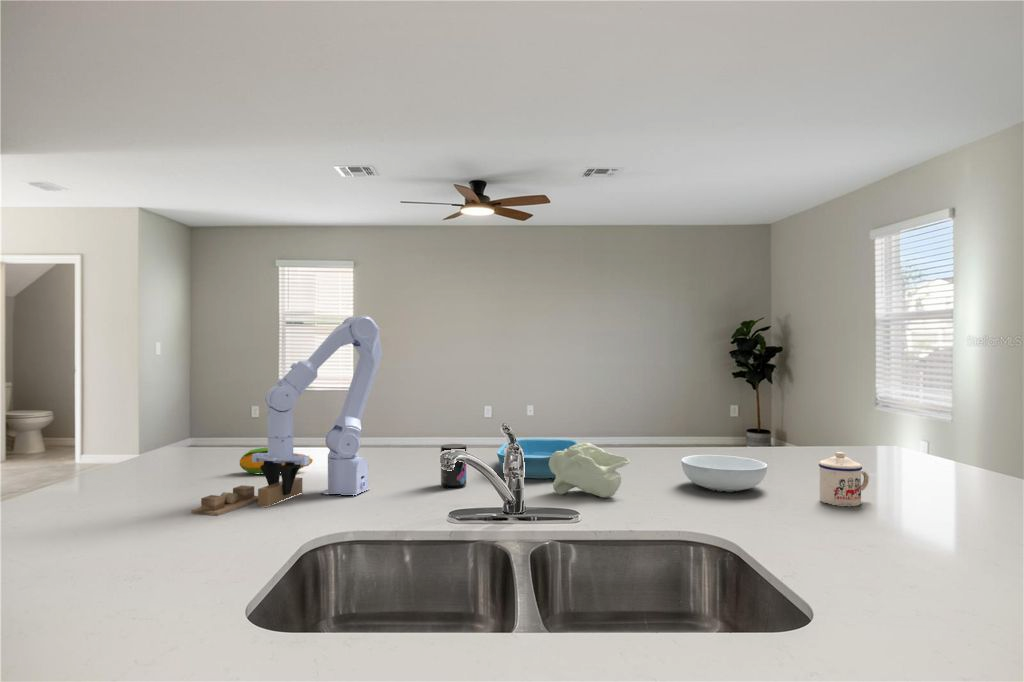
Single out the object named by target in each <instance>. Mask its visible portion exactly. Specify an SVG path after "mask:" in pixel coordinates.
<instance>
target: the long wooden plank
mask: <svg viewBox="0 0 1024 682" xmlns="http://www.w3.org/2000/svg"><path fill="white" fill-rule="evenodd" d="M299 493H302V494H303V477H295V479H294V482H293V486H292V490H291V494H288V495H283V491H282V480H281V481H280V480H279V482H277V483H274V484H271V485H266V486H262V487H260V488H258V489H257V496H258V501H257V507H260V506H269V505H272V504H274V503H277V502H279V501H281V500H284V499H286V498H289V497H291V496H294V495H297V494H299ZM272 506H273V505H272Z"/></svg>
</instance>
